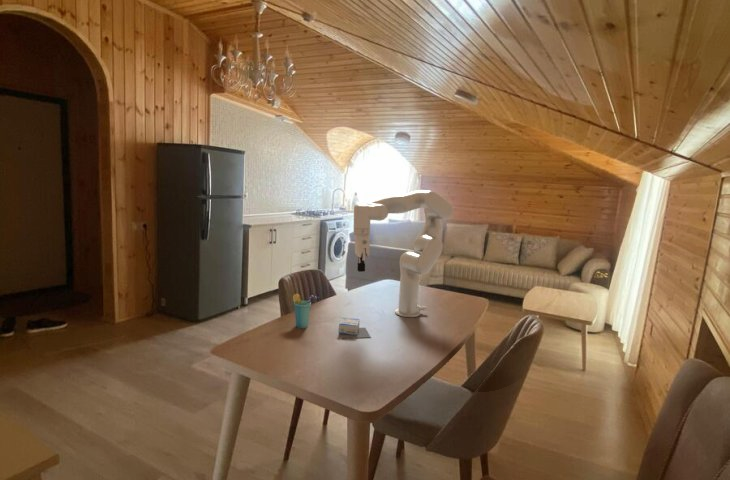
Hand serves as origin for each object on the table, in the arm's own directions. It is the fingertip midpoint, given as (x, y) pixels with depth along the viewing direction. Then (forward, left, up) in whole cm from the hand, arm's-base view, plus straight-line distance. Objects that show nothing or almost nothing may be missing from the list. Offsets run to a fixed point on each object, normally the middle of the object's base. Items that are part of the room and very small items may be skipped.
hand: (361, 271), depth 181 cm
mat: (+5, +15, -24) cm, 29 cm away
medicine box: (+5, +9, -22) cm, 24 cm away
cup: (+26, +5, -24) cm, 36 cm away
